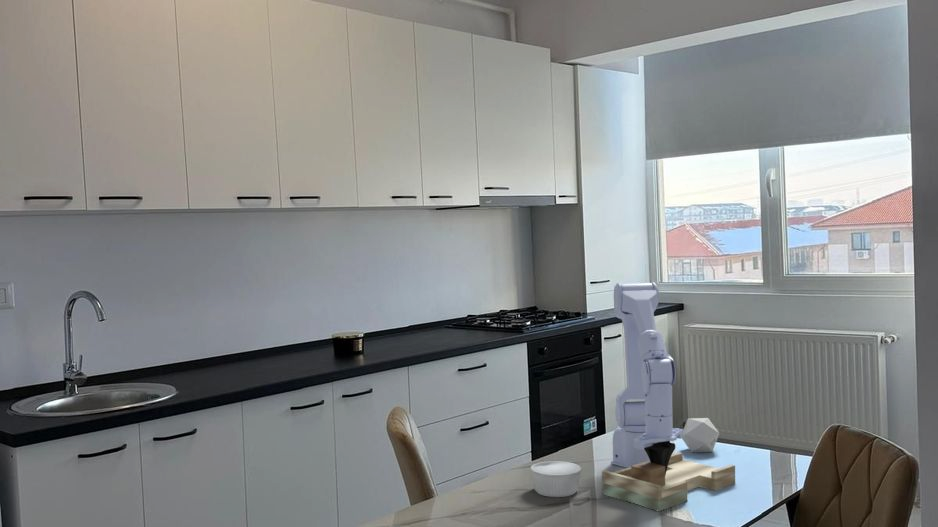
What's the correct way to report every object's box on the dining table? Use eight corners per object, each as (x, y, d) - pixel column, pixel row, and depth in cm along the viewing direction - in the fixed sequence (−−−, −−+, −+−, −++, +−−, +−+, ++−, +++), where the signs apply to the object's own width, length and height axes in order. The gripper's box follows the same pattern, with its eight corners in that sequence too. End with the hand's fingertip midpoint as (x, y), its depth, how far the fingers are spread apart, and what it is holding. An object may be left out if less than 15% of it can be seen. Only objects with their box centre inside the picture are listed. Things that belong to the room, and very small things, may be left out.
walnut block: (631, 484, 175) (631, 465, 175) (646, 479, 178) (646, 461, 178) (650, 489, 171) (650, 470, 171) (665, 484, 174) (664, 466, 174)
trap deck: (602, 494, 177) (602, 471, 177) (679, 469, 194) (678, 448, 194) (658, 511, 165) (658, 487, 165) (735, 483, 182) (735, 461, 182)
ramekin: (552, 480, 188) (552, 457, 188) (592, 490, 180) (591, 466, 180) (520, 491, 180) (519, 468, 180) (559, 503, 172) (559, 478, 172)
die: (712, 459, 204) (729, 424, 206) (679, 441, 205) (696, 406, 208) (702, 462, 212) (719, 428, 214) (671, 445, 213) (688, 411, 216)
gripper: (652, 422, 169) (653, 487, 169) (694, 411, 178) (695, 473, 179) (625, 417, 174) (626, 480, 175) (668, 406, 184) (668, 466, 184)
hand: (659, 476), depth 177 cm, fingers closed
